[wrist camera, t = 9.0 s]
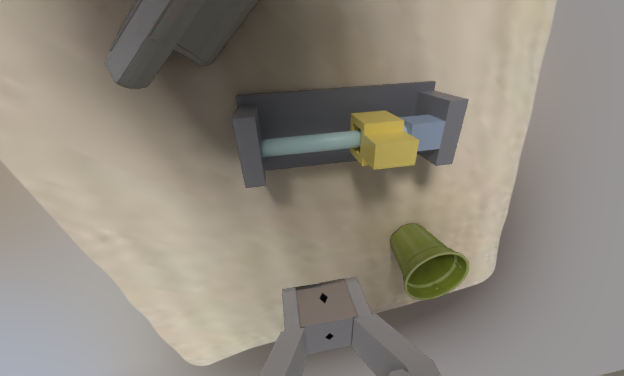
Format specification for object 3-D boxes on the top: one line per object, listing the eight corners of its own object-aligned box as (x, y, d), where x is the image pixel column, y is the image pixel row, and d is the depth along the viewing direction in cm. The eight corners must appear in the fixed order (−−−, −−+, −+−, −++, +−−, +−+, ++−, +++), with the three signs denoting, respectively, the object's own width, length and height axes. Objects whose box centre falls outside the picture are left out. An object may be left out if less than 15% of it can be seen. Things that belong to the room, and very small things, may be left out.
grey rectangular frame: (250, 170, 32) (247, 196, 26) (236, 95, 27) (229, 107, 21) (419, 151, 34) (450, 171, 29) (432, 81, 30) (471, 88, 24)
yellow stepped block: (349, 151, 29) (372, 179, 23) (350, 113, 27) (376, 133, 21) (381, 147, 30) (413, 174, 24) (385, 110, 28) (421, 128, 21)
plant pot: (429, 252, 45) (461, 293, 37) (379, 262, 44) (402, 306, 36) (437, 210, 40) (476, 246, 33) (381, 220, 39) (408, 260, 32)
